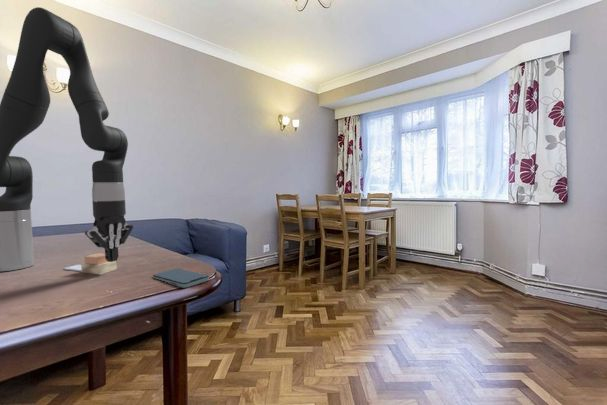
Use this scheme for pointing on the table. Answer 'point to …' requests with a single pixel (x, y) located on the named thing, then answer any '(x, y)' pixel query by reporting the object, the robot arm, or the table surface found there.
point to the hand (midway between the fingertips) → (112, 261)
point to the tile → (95, 259)
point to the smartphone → (182, 277)
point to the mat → (74, 268)
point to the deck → (98, 267)
